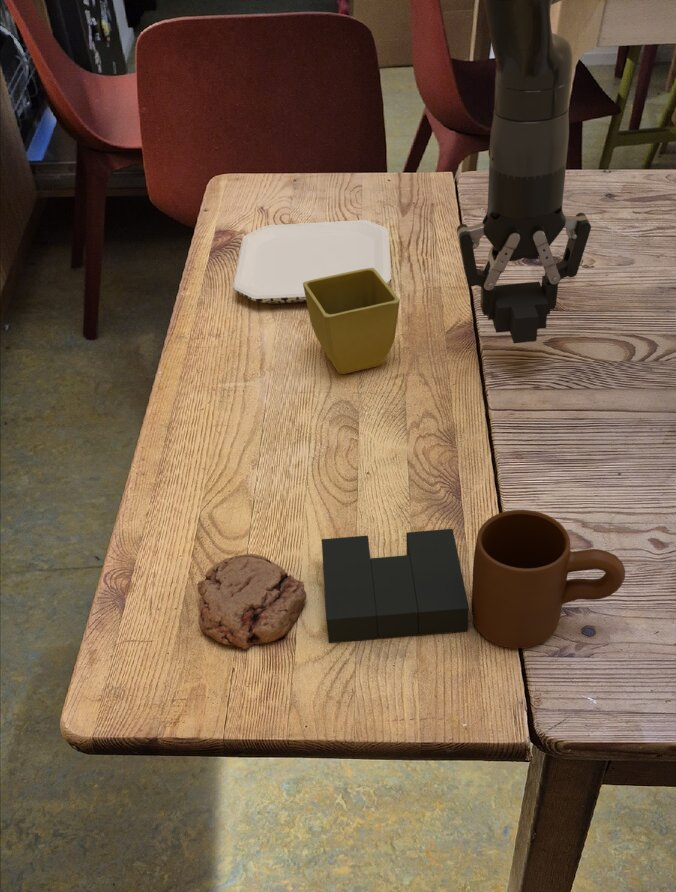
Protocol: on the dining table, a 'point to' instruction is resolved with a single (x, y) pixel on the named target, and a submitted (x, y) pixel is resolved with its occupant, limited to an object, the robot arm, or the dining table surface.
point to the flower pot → (353, 318)
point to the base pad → (393, 588)
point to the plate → (307, 257)
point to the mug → (531, 577)
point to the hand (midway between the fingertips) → (517, 313)
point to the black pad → (520, 310)
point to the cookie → (248, 601)
